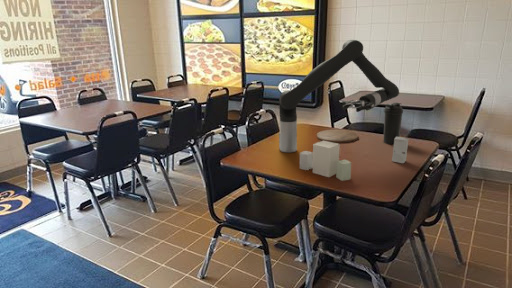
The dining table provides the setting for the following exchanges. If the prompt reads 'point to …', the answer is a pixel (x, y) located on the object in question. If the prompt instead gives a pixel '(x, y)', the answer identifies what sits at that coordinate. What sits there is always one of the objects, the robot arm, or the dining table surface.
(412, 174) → the dining table surface
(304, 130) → the dining table surface
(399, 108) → the water bottle
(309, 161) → the grey block
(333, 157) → the cream box with panel
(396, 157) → the skincare box
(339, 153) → the button
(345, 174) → the sage block
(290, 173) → the dining table surface
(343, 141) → the trivet
